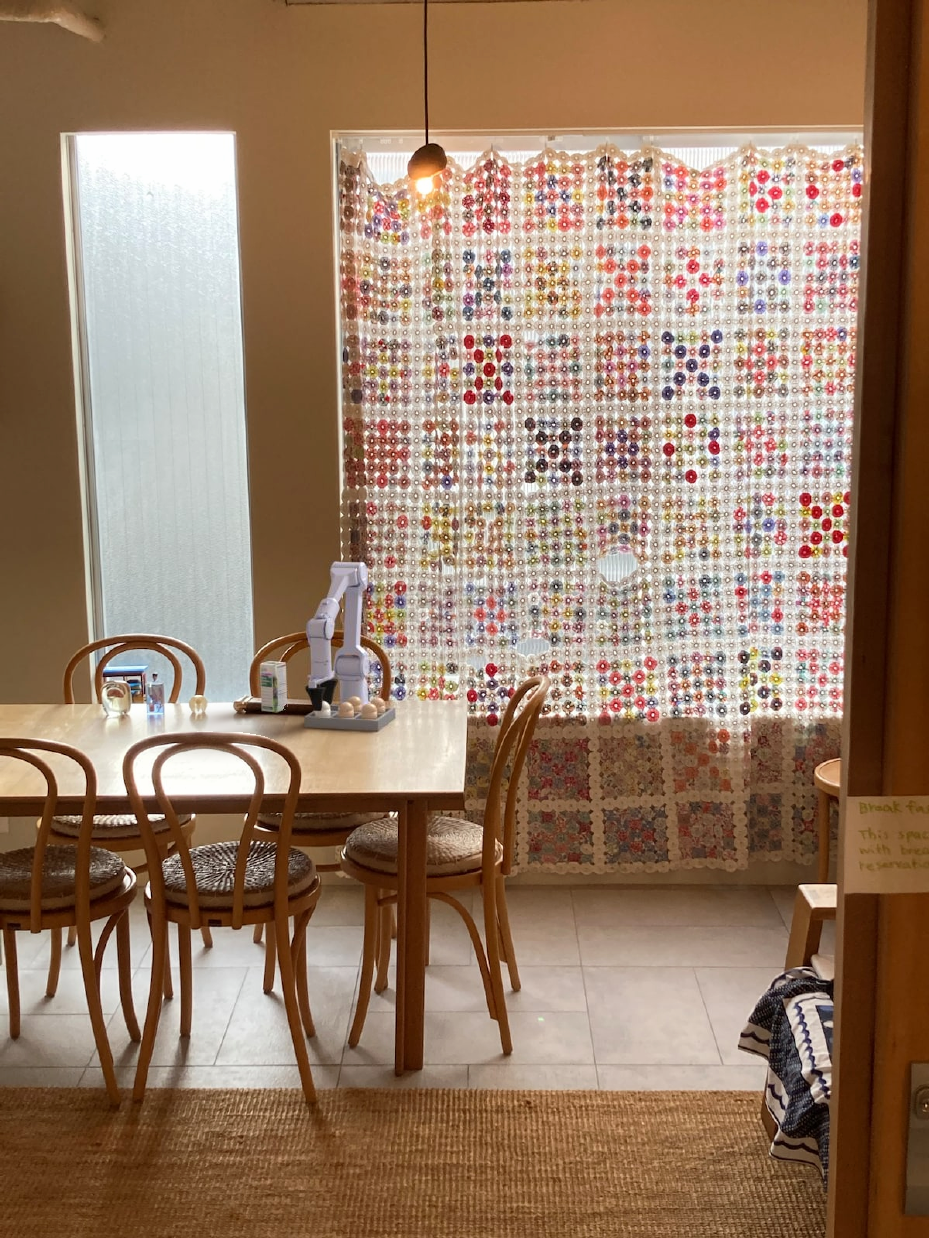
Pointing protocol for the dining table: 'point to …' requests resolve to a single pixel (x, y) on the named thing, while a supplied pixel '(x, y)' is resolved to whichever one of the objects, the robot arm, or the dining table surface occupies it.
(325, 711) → the white egg
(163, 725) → the dining table surface
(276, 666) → the syrup box
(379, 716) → the egg carton
